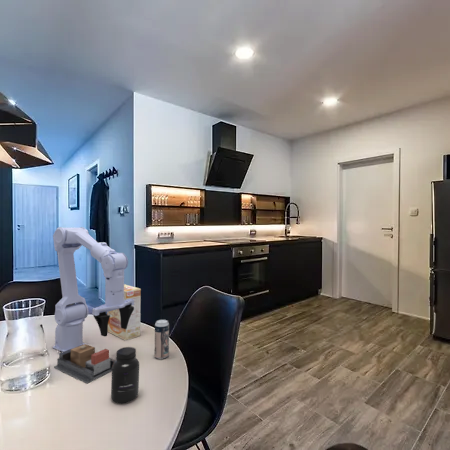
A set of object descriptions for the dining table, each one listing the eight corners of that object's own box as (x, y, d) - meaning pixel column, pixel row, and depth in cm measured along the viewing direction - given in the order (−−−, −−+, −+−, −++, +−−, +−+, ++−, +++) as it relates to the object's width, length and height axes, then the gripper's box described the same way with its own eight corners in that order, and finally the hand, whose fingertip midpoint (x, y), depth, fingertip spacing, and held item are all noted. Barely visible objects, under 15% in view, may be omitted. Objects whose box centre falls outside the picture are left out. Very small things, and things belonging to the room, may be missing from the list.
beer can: (165, 360, 94) (165, 324, 94) (152, 358, 95) (152, 323, 95) (170, 354, 98) (171, 319, 98) (158, 352, 99) (158, 318, 99)
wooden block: (70, 365, 89) (70, 347, 89) (85, 359, 93) (85, 342, 93) (79, 369, 86) (80, 351, 86) (94, 363, 90) (94, 345, 90)
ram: (85, 371, 84) (85, 353, 84) (102, 364, 89) (102, 346, 89) (93, 375, 82) (94, 356, 82) (110, 367, 87) (110, 349, 87)
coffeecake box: (106, 331, 119) (106, 285, 119) (121, 327, 124) (122, 283, 124) (124, 341, 109) (125, 290, 109) (140, 335, 115) (141, 288, 115)
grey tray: (54, 367, 88) (54, 355, 88) (86, 354, 97) (87, 342, 97) (87, 383, 79) (87, 369, 79) (119, 367, 89) (119, 354, 89)
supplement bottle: (122, 408, 69) (123, 359, 69) (105, 399, 72) (106, 352, 72) (144, 394, 75) (144, 348, 75) (127, 386, 78) (127, 343, 78)
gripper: (102, 296, 84) (102, 342, 84) (140, 287, 96) (140, 327, 96) (88, 293, 87) (88, 337, 87) (126, 285, 100) (126, 323, 100)
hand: (114, 331), depth 92 cm, fingers open, 7 cm apart
